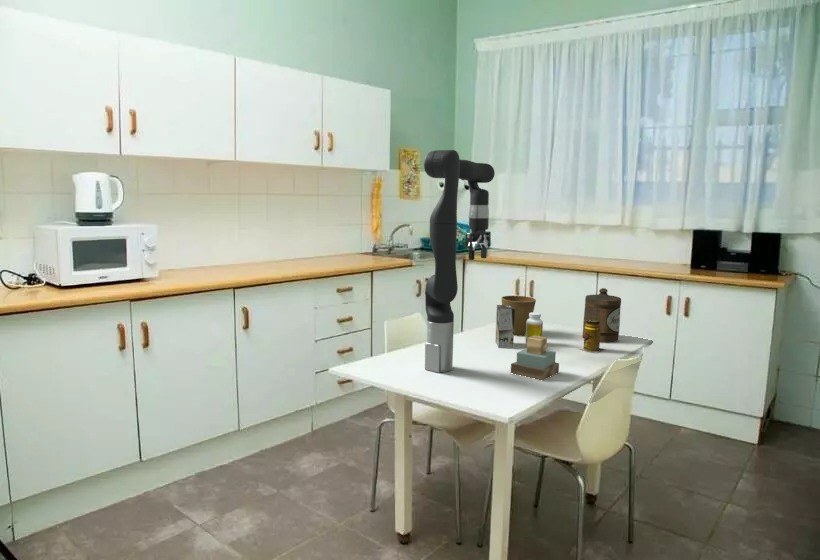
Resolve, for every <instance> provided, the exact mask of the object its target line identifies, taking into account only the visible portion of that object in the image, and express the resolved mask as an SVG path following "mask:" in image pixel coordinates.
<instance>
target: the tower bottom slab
mask: <svg viewBox="0 0 820 560" xmlns="http://www.w3.org/2000/svg"><path fill="white" fill-rule="evenodd" d="M516 363H517V361H514V362H511V364H510V374H511V373H513V374H512V375H515V374H516V376H519V375H521V376H520V377H523V376H526V377H525V378H528V377H530V378H529V379H532V378H535V379H534V380H536V379H539V380H538V381H541V380H543V381H545V380H547V379H549V378H551V377H553V376H555V375H557V374H559V373H558V372H559V369H560V363H559V362H556V361H555V363H554V364H552V365H550V366H549V367H547V368H545V369H539V368H534V367H529V366H524V365H518V364H516ZM556 373H557V374H556ZM554 374H555V375H554ZM552 375H553V376H552ZM550 376H551V377H550ZM548 377H549V378H548ZM546 378H547V379H546ZM544 379H545V380H544Z"/></svg>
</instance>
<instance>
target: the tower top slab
mask: <svg viewBox="0 0 820 560" xmlns="http://www.w3.org/2000/svg"><path fill="white" fill-rule="evenodd" d="M556 353H557V351H556V350H548V349H547V350H546V352H545V353H543V354H541V355H538V354H533V353H527V347H526V348H524V349H521V350H520V351H517V352H516V362H517V363H516V364H518V365H524V366H529V367H534V368H539V369H545V368H547V367H549V366H550V365H552V364H554V363H555V362H556V357H557V356H556Z"/></svg>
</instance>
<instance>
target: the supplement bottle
mask: <svg viewBox="0 0 820 560" xmlns="http://www.w3.org/2000/svg"><path fill="white" fill-rule="evenodd" d="M541 316H542V313H541V312H534V311H533V312H532V313H529V317H530V318H529V319H528V320H527V322H526V333H525V343H526V345H527V338H529V337H531V336H539V337H543V329H544V327H543V326H544V324H543V323H544V322H543V320H542V319H541Z"/></svg>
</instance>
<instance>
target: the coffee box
mask: <svg viewBox="0 0 820 560" xmlns="http://www.w3.org/2000/svg"><path fill="white" fill-rule="evenodd" d="M495 311H496V312H495V313H496V315H495V316H496V317H495V344H496V346H497V348H501V349H504V348H505V349H513V348H514V336H515V335H514V319H515V308H514V307H513V306H512V305H502V304H496V310H495Z"/></svg>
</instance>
